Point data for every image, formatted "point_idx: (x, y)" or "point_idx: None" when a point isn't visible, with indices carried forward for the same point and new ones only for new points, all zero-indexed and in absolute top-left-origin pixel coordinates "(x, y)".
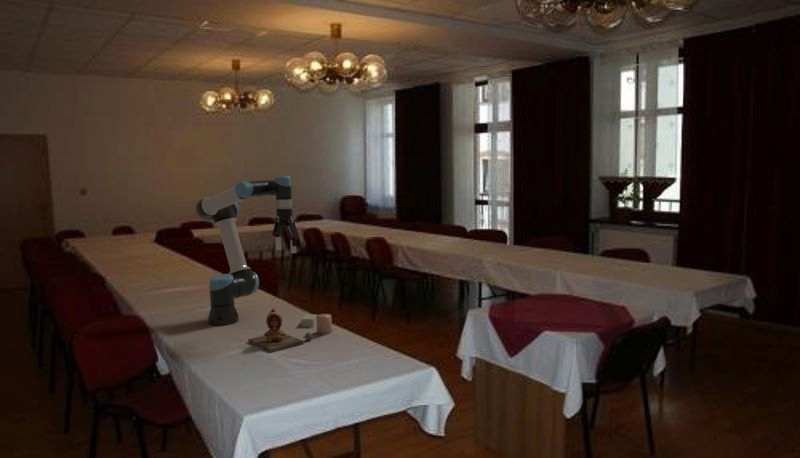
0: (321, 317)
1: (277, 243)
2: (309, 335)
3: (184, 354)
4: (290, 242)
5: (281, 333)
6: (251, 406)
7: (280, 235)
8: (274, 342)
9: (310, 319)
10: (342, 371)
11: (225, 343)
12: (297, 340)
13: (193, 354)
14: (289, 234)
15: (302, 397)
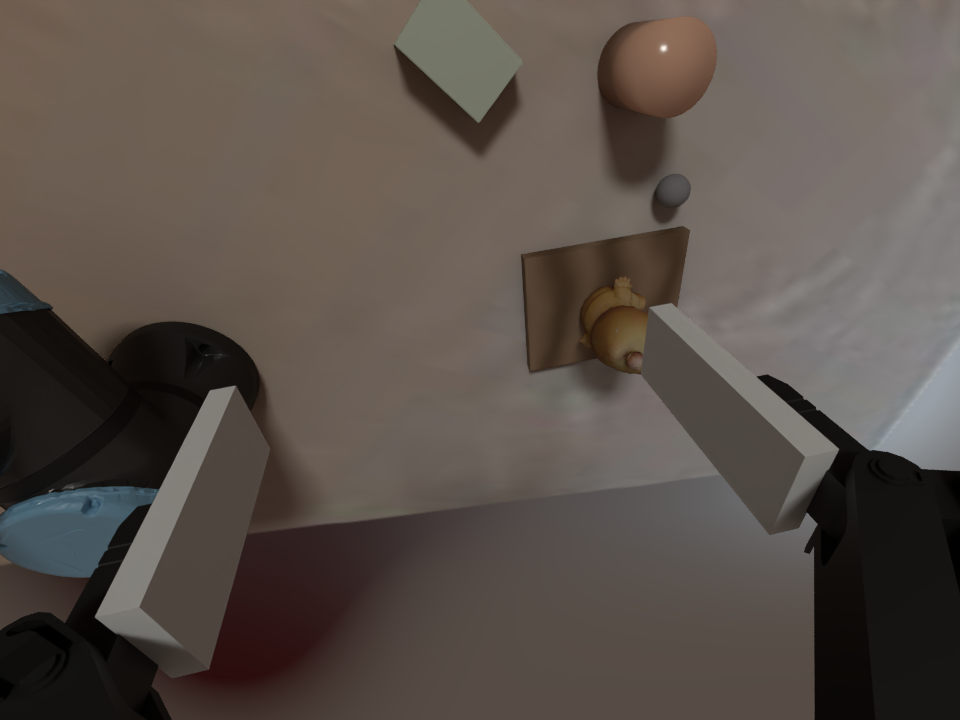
0: (689, 101)
1: (234, 529)
2: (688, 196)
3: (510, 497)
4: (737, 490)
5: (638, 302)
6: (860, 440)
7: (25, 647)
8: None
9: (512, 76)
10: (943, 238)
11: (490, 416)
12: (671, 246)
13: (525, 483)
14: (825, 653)
15: (926, 367)
